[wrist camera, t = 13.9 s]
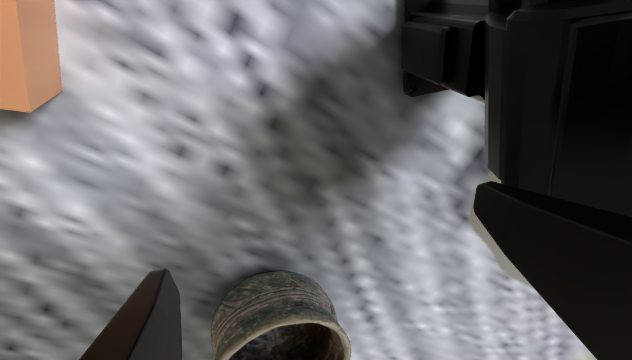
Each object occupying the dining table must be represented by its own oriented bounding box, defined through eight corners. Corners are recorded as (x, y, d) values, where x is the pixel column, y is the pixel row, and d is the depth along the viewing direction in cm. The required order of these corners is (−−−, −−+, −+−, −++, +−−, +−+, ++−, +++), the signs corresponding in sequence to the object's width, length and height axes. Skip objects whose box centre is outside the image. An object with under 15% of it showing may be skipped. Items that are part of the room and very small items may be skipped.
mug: (258, 229, 25) (283, 353, 16) (368, 285, 31) (427, 396, 22) (185, 314, 27) (172, 463, 18) (301, 350, 33) (332, 474, 25)
